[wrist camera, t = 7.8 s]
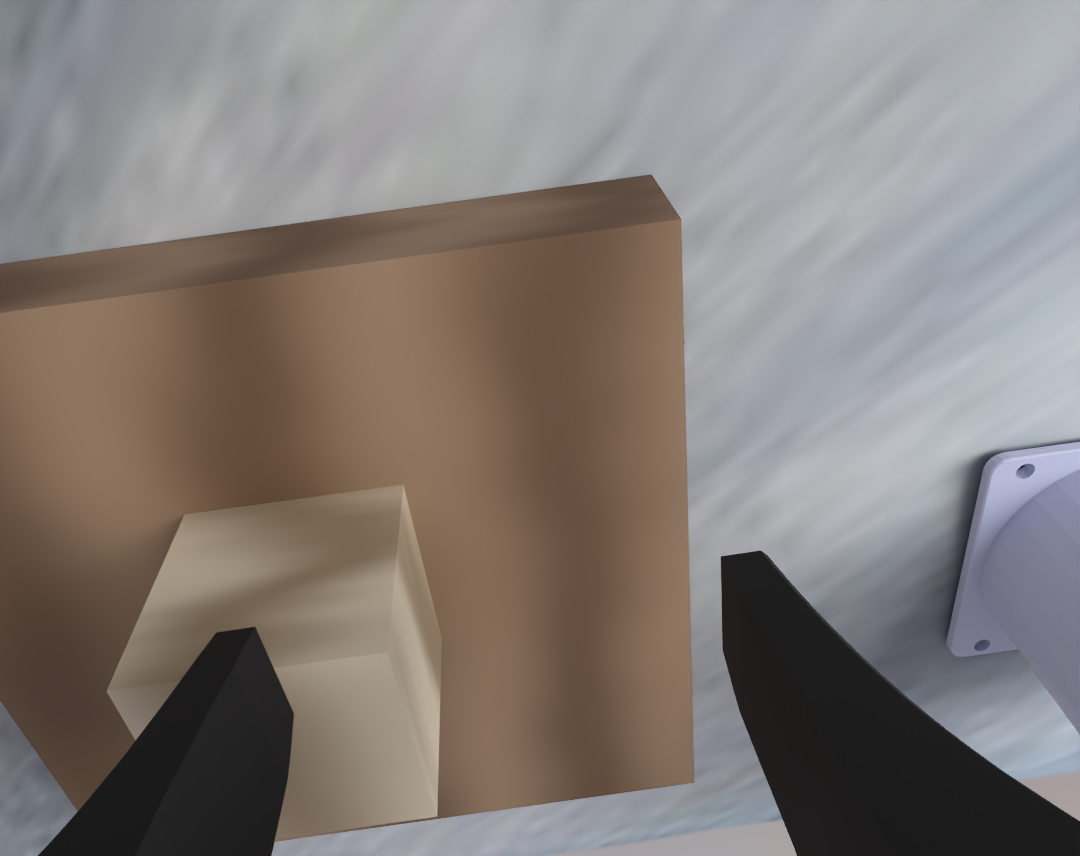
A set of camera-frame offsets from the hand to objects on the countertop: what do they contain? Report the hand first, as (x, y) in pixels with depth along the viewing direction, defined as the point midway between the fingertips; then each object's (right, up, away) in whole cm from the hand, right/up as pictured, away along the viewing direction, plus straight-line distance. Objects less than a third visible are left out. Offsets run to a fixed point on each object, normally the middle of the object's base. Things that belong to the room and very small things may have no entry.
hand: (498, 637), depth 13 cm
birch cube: (-5, 0, +7) cm, 9 cm away
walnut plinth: (-5, 0, +11) cm, 12 cm away
